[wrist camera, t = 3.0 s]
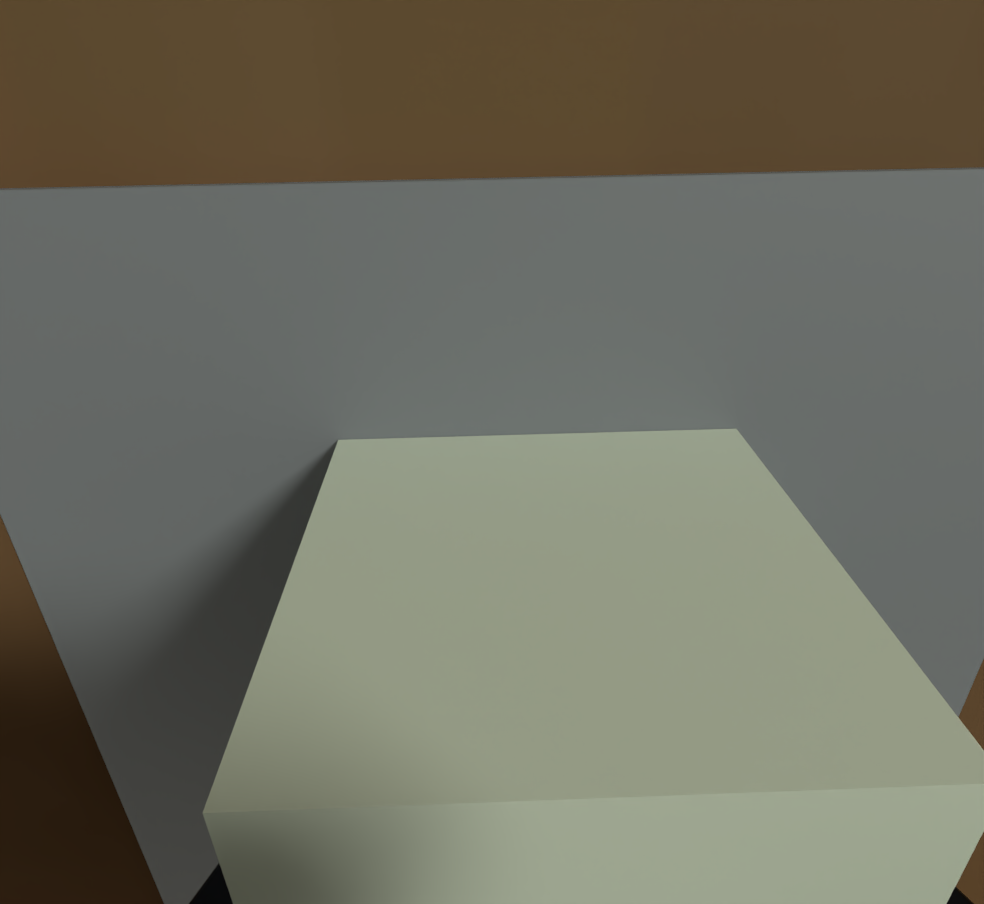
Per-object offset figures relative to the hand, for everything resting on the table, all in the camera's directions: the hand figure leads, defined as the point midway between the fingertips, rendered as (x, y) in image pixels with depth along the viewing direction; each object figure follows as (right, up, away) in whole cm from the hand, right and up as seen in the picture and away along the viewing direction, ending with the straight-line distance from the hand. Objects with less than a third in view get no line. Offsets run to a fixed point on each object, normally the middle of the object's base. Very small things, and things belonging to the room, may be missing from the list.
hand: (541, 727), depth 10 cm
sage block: (0, +1, +1) cm, 1 cm away
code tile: (0, +1, +1) cm, 1 cm away
